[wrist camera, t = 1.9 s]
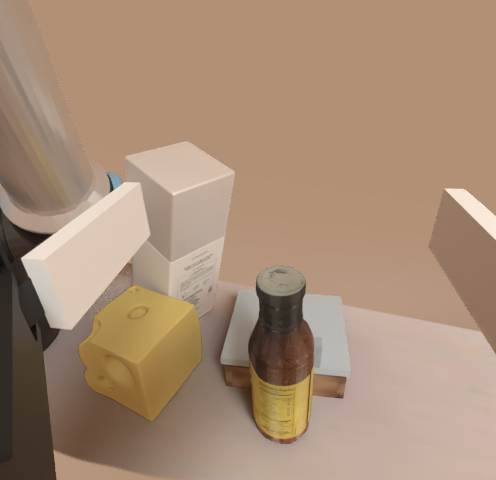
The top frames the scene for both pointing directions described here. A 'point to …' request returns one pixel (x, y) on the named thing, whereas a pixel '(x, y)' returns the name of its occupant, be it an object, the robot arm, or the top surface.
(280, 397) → the sauce bottle
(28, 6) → the robot arm
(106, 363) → the cheese
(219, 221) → the tall white carton
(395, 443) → the top surface
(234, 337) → the lid
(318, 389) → the brown flat block
